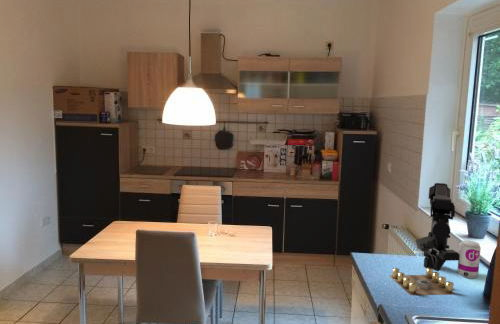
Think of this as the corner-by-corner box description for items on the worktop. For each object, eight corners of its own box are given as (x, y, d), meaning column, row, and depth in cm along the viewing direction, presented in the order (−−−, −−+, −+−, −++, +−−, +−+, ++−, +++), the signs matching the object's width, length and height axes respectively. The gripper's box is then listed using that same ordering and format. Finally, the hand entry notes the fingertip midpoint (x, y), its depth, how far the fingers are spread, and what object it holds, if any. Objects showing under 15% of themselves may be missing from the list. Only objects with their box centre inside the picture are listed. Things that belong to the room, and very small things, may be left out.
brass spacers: (430, 276, 179) (430, 267, 179) (453, 293, 162) (454, 283, 161) (391, 276, 178) (391, 267, 177) (410, 294, 160) (411, 284, 160)
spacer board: (428, 276, 181) (429, 274, 181) (455, 296, 161) (455, 294, 161) (388, 277, 179) (388, 275, 179) (410, 297, 159) (410, 295, 159)
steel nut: (425, 283, 171) (426, 279, 171) (433, 289, 165) (433, 284, 165) (414, 284, 170) (414, 279, 170) (421, 289, 165) (421, 285, 164)
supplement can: (480, 279, 179) (483, 246, 178) (460, 277, 181) (463, 244, 179) (474, 272, 187) (477, 240, 185) (454, 271, 189) (457, 239, 187)
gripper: (407, 224, 165) (405, 262, 167) (432, 238, 146) (429, 280, 148) (434, 224, 166) (431, 262, 168) (462, 238, 148) (458, 280, 149)
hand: (436, 270), depth 158 cm, fingers closed
